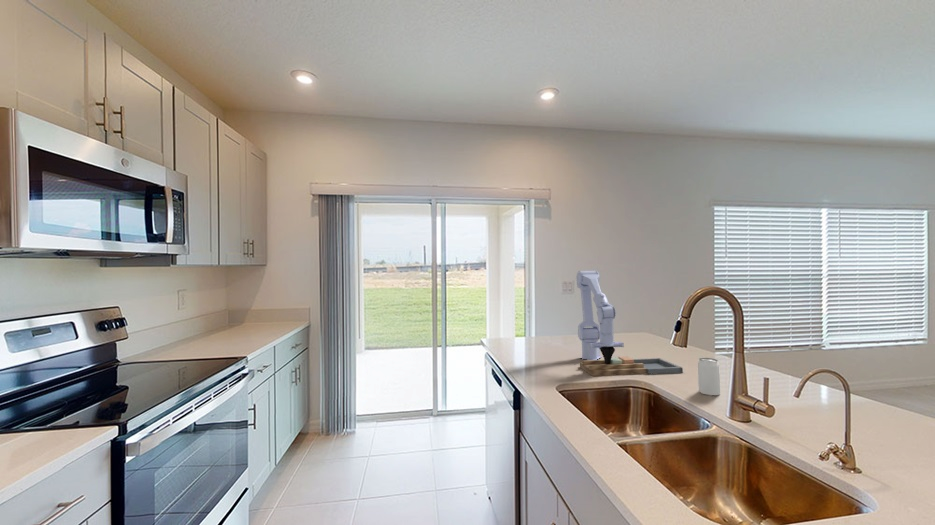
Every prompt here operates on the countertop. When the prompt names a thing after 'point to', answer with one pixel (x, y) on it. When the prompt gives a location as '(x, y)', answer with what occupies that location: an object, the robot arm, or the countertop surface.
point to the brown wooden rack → (611, 368)
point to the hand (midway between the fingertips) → (607, 363)
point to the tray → (659, 366)
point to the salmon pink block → (626, 360)
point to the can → (709, 376)
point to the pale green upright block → (615, 361)
